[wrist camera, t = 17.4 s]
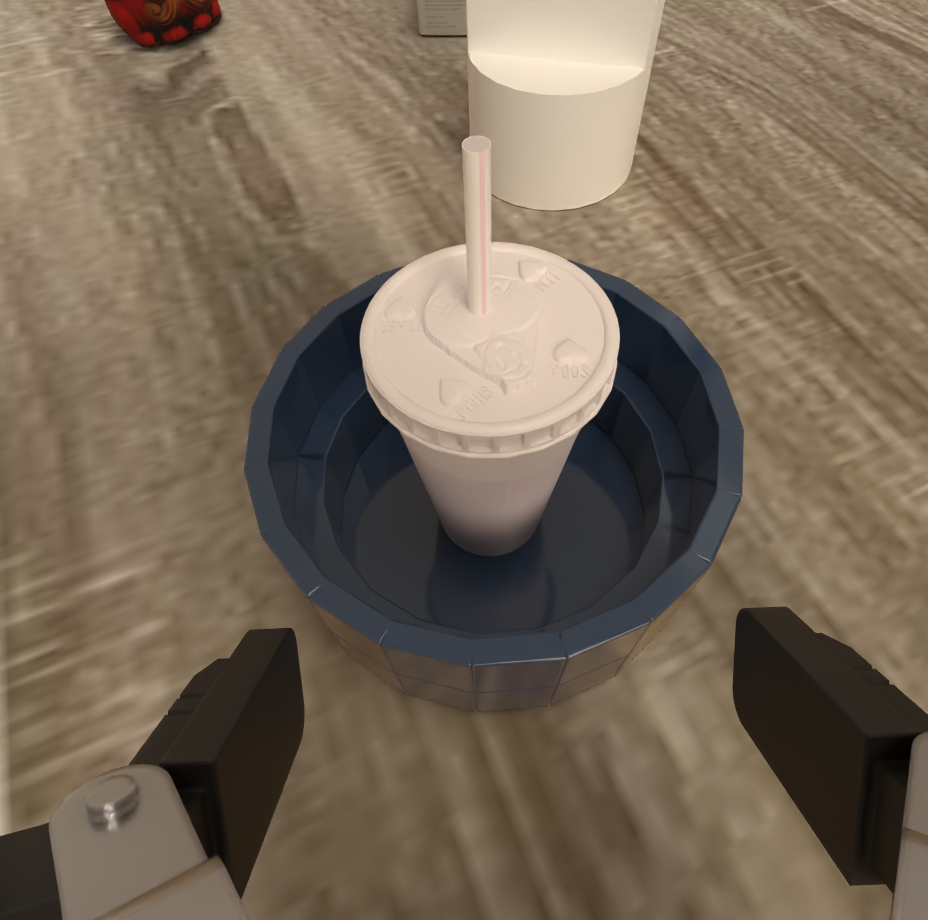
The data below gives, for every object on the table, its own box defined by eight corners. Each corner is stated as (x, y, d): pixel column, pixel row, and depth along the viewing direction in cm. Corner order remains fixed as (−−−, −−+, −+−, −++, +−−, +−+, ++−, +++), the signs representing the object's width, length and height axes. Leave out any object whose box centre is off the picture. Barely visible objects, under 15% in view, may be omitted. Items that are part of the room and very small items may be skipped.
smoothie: (533, 417, 26) (568, 41, 14) (608, 554, 23) (739, 218, 11) (381, 469, 25) (279, 112, 13) (438, 620, 21) (371, 332, 10)
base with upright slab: (640, 123, 37) (696, -151, 27) (620, 221, 33) (677, -63, 23) (491, 106, 39) (491, -159, 29) (452, 198, 34) (435, -78, 24)
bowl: (436, 325, 30) (423, 204, 24) (739, 458, 25) (809, 348, 20) (222, 576, 23) (140, 491, 18) (575, 810, 19) (609, 793, 14)
